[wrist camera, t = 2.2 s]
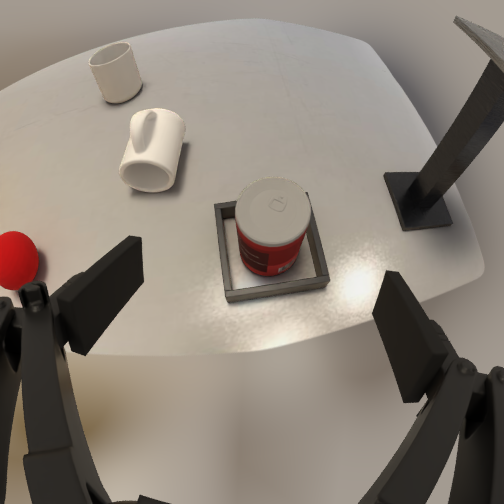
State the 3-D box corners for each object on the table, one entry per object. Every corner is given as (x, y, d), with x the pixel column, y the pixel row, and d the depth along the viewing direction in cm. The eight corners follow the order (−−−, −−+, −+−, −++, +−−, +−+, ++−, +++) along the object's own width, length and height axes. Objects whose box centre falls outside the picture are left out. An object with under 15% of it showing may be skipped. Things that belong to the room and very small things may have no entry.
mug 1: (139, 101, 52) (125, 58, 42) (101, 110, 52) (82, 70, 42) (148, 70, 57) (137, 31, 46) (113, 78, 56) (99, 42, 46)
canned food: (301, 228, 41) (315, 183, 31) (292, 283, 39) (305, 252, 28) (247, 217, 42) (245, 169, 32) (233, 271, 39) (226, 236, 29)
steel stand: (453, 228, 41) (568, 107, 14) (400, 234, 41) (522, 82, 13) (430, 172, 45) (514, 43, 18) (379, 173, 45) (455, 15, 17)
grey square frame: (304, 202, 43) (307, 191, 40) (325, 287, 38) (330, 280, 36) (216, 214, 42) (214, 203, 39) (227, 303, 38) (225, 297, 35)
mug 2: (189, 141, 48) (176, 86, 36) (179, 192, 44) (159, 138, 33) (144, 143, 48) (122, 93, 37) (129, 193, 44) (99, 144, 33)
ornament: (11, 300, 37) (-29, 282, 28) (14, 251, 41) (-22, 227, 31) (48, 292, 38) (8, 270, 29) (50, 239, 41) (14, 210, 32)
